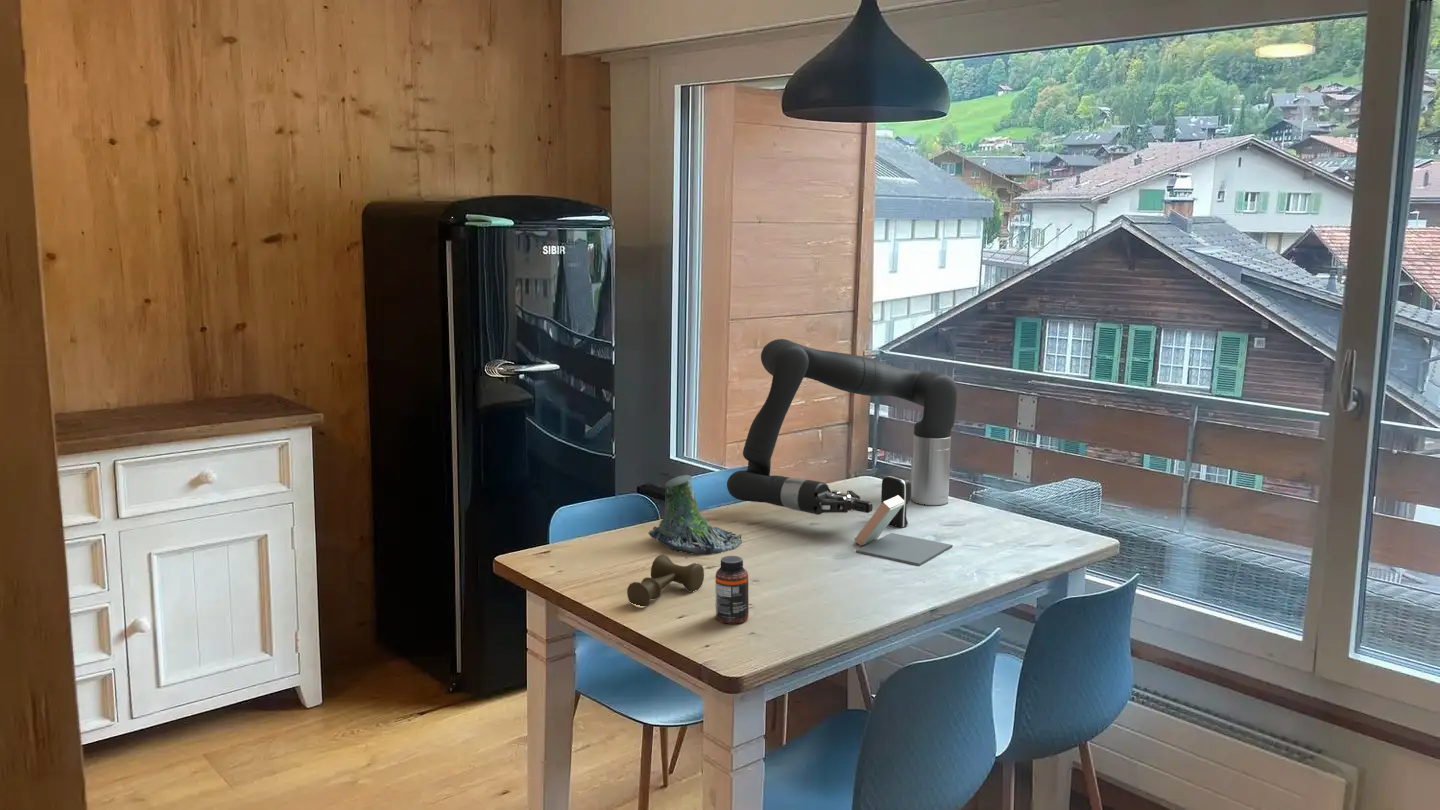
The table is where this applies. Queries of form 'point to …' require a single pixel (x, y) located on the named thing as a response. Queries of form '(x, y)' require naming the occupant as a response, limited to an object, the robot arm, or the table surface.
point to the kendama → (665, 580)
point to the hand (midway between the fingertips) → (870, 507)
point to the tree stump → (689, 523)
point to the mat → (904, 549)
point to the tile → (879, 520)
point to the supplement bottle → (732, 591)
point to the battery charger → (894, 488)
